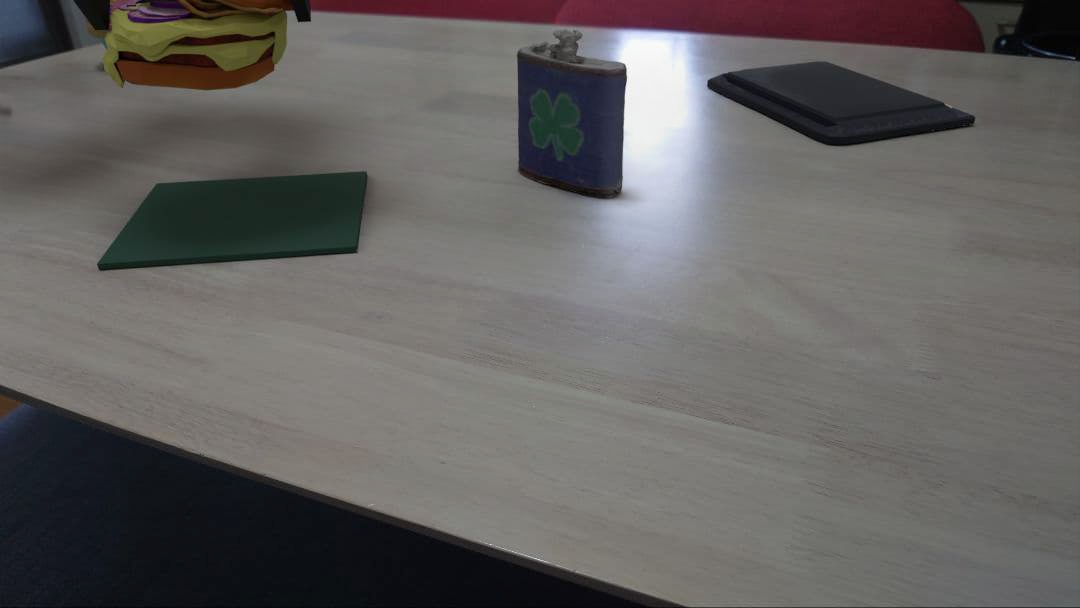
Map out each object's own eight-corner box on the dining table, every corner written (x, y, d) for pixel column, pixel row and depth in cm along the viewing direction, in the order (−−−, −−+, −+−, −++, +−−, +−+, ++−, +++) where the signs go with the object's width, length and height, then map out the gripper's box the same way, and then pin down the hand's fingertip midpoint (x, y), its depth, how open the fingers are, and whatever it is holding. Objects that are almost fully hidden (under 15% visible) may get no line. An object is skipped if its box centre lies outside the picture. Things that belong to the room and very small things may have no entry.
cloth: (98, 269, 48) (96, 263, 48) (157, 188, 59) (156, 183, 59) (356, 252, 50) (356, 246, 50) (367, 176, 61) (366, 171, 61)
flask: (629, 191, 58) (635, 35, 52) (603, 203, 56) (607, 42, 51) (533, 162, 63) (530, 17, 58) (507, 172, 61) (501, 24, 56)
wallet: (705, 66, 81) (836, 53, 85) (703, 85, 82) (832, 71, 86) (828, 124, 64) (983, 105, 68) (824, 148, 65) (977, 127, 69)
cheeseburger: (100, 67, 52) (100, -104, 48) (273, 87, 57) (286, -66, 53) (104, 105, 44) (105, -97, 40) (305, 125, 49) (322, -52, 45)
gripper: (388, -240, 57) (408, 41, 51) (35, -237, 54) (15, 58, 48) (376, -352, 49) (399, -40, 44) (-32, -355, 47) (-64, -25, 41)
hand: (197, 12), depth 46 cm, fingers closed on cheeseburger, 11 cm apart
